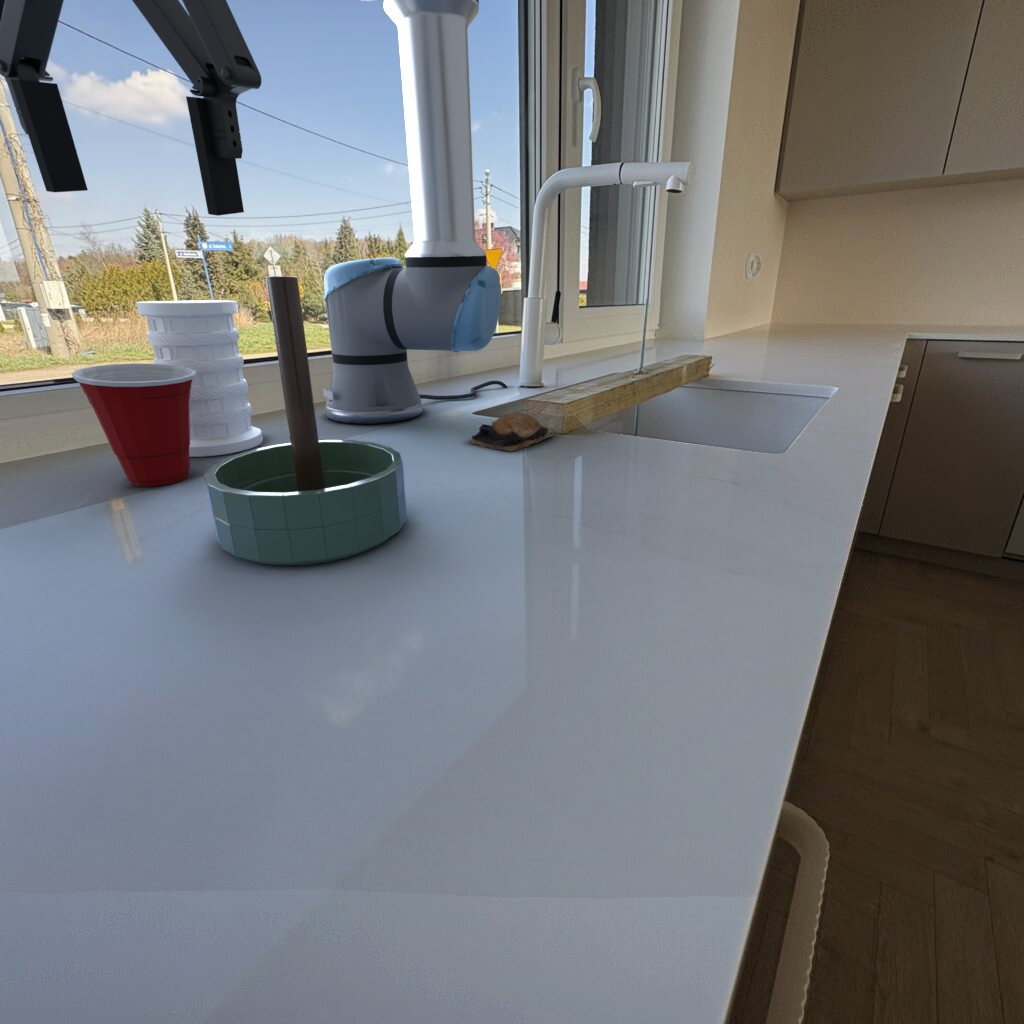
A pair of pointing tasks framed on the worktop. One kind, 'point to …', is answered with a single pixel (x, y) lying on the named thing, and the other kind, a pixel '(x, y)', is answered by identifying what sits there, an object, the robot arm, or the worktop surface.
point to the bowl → (306, 503)
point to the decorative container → (206, 370)
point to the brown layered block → (511, 432)
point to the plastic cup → (143, 417)
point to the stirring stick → (296, 380)
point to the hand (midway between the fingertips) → (145, 202)
